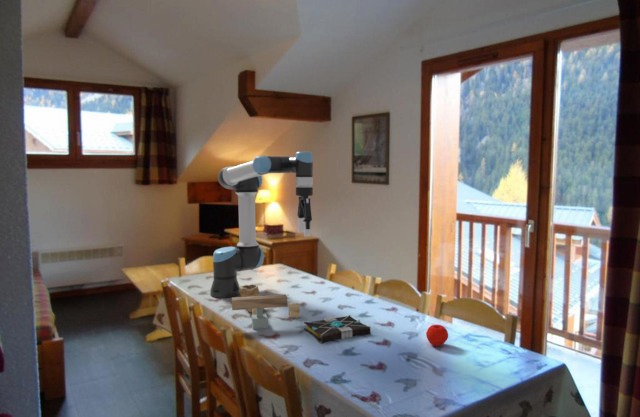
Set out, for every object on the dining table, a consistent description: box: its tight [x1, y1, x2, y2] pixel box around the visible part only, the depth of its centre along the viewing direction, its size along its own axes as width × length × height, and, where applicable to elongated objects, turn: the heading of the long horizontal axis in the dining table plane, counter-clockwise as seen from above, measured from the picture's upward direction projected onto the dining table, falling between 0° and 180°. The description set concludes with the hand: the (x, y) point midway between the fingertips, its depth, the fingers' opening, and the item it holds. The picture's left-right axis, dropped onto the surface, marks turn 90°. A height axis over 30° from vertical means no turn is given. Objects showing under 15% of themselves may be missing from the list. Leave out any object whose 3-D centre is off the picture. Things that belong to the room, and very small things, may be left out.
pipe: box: [239, 284, 265, 314], centre depth 217 cm, size 9×16×10 cm, turn 24°
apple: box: [425, 324, 449, 347], centre depth 174 cm, size 8×8×7 cm
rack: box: [251, 302, 301, 319], centre depth 206 cm, size 5×20×5 cm, turn 103°
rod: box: [231, 294, 288, 311], centre depth 194 cm, size 4×22×4 cm, turn 103°
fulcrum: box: [251, 308, 269, 330], centre depth 194 cm, size 6×6×8 cm
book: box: [303, 314, 372, 344], centre depth 188 cm, size 22×17×5 cm
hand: (304, 234), depth 213 cm, fingers open, 13 cm apart
